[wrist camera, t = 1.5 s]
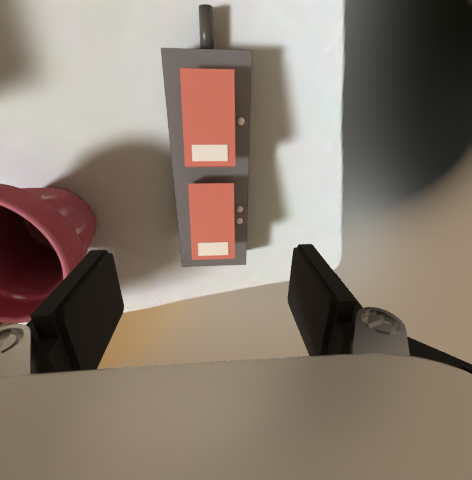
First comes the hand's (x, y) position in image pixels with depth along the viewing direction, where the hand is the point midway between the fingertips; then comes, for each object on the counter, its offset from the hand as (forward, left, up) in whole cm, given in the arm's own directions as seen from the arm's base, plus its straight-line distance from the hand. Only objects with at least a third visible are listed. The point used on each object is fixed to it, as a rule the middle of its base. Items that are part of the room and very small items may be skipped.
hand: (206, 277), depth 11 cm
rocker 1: (-6, 0, -20) cm, 21 cm away
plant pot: (+6, -21, -26) cm, 34 cm away
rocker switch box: (-2, 0, -26) cm, 26 cm away
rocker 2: (+5, 0, -20) cm, 20 cm away
